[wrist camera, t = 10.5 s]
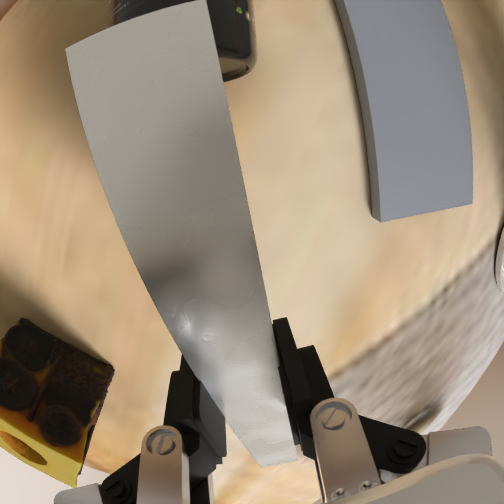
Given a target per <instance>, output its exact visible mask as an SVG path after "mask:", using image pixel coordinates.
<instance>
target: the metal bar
mask: <svg viewBox="0 0 504 504" xmlns="http://www.w3.org/2000/svg"><path fill="white" fill-rule="evenodd" d="M65 50H66V56H67V61H68V66H69V71H70V76H71V81H72V85H73V89H74V94H75V98H76V102H77V106H78V110H79V113H80V117H81V121H82V124H83V128H84V131H85V135H86V138H87V141H88V145H89V148H90V151H91V154H92V157H93V160H94V163H95V166H96V169H97V172H98V175H99V178H100V181H101V183H102V186H103V189H104V192H105V194H106V197H107V199H108V202H109V205H110V207H111V210H112V212H113V215H114V217H115V220H116V222H117V225H118V227H119V229H120V232H121V234H122V236H123V239H124V241H125V243H126V246H127V248H128V250H129V252H130V255H131V257H132V259H133V261H134V263H135V265H136V268H137V270H138V272H139V274H140V276H141V278H142V280H143V282H144V284H145V286H146V288H147V290H148V292H149V294H150V296H151V298H152V300H153V302H154V304H155V306H156V308H157V310H158V312H159V313H160V315H161V317H162V319H163V321H164V323H165V325H166V326H167V328H168V330H169V332H170V334H171V335H172V337H173V339H174V341H175V342H176V344H177V346H178V348H179V349H180V351H181V353H182V354H183V356H184V358H185V359H186V361H187V363H188V364H189V366H190V368H191V369H192V371H193V372H194V374H195V376H196V377H197V379H198V380H199V381H201V382H202V383H203V385H204V386H205V388H206V389H207V391H208V393H209V394H210V396H211V397H212V399H213V400H214V402H215V403H216V405H217V406H218V408H219V409H220V411H221V412H222V414H223V415H224V417H225V421H226V422H227V423H228V425H229V426H230V428H231V429H232V430H233V432H234V433H235V434H236V436H237V437H238V438H239V440H240V441H241V442H242V444H243V445H244V446H245V448H246V449H247V450H248V452H249V453H250V454H251V455H252V457H253V458H254V459H255V460H256V462H257V463H258V464H259V465H260V467H267V466H273V465H279V464H284V463H289V462H294V461H298V460H297V454H296V449H295V445H294V441H293V436H292V432H291V427H290V423H289V419H288V414H287V410H286V405H285V400H284V395H283V390H282V386H281V381H280V376H279V371H278V367H280V364H279V359H278V354H277V349H276V343H275V338H274V333H273V328H272V323H271V318H270V312H269V307H268V302H267V297H266V292H265V287H264V282H263V277H262V271H261V266H260V261H259V256H258V251H257V246H256V241H255V236H254V231H253V226H252V221H251V216H250V211H249V206H248V201H247V196H246V191H245V186H244V181H243V176H242V171H241V166H240V161H239V156H238V151H237V146H236V142H235V137H234V132H233V127H232V122H231V117H230V112H229V107H228V103H227V98H226V93H225V88H224V83H223V78H222V74H221V69H220V64H219V59H218V54H217V50H216V45H215V40H214V35H213V31H212V26H211V21H210V16H209V12H208V7H207V2H206V0H196V1H192V2H187V3H183V4H179V5H175V6H171V7H168V8H164V9H161V10H157V11H154V12H151V13H148V14H145V15H142V16H139V17H136V18H133V19H130V20H127V21H125V22H122V23H120V24H117V25H115V26H112V27H110V28H107V29H105V30H103V31H100V32H98V33H96V34H94V35H92V36H89V37H87V38H85V39H83V40H81V41H79V42H77V43H75V44H73V45H71V46H69V47H68V48H66V49H65Z"/></svg>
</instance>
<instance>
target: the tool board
mask: <svg viewBox="0 0 504 504" xmlns="http://www.w3.org/2000/svg"><path fill="white" fill-rule="evenodd" d="M335 3H336V6H337V9H338V12H339V16H340V19H341V23H342V26H343V30H344V33H345V37H346V41H347V45H348V49H349V53H350V57H351V61H352V65H353V70H354V75H355V79H356V84H357V89H358V95H359V100H360V106H361V112H362V118H363V125H364V132H365V139H366V147H367V156H368V165H369V176H370V188H371V203H372V217H373V218H375V219H376V220H378V221H379V222H385V221H390V220H395V219H400V218H405V217H409V216H414V215H419V214H424V213H429V212H434V211H439V210H444V209H449V208H454V207H459V206H464V205H469V204H472V200H473V157H472V139H471V127H470V118H469V110H468V102H467V96H466V90H465V84H464V79H463V74H462V69H461V65H460V60H459V56H458V52H457V49H456V45H455V41H454V38H453V34H452V31H451V28H450V25H449V22H448V19H447V16H446V13H445V10H444V7H443V5H442V2H441V0H335Z"/></svg>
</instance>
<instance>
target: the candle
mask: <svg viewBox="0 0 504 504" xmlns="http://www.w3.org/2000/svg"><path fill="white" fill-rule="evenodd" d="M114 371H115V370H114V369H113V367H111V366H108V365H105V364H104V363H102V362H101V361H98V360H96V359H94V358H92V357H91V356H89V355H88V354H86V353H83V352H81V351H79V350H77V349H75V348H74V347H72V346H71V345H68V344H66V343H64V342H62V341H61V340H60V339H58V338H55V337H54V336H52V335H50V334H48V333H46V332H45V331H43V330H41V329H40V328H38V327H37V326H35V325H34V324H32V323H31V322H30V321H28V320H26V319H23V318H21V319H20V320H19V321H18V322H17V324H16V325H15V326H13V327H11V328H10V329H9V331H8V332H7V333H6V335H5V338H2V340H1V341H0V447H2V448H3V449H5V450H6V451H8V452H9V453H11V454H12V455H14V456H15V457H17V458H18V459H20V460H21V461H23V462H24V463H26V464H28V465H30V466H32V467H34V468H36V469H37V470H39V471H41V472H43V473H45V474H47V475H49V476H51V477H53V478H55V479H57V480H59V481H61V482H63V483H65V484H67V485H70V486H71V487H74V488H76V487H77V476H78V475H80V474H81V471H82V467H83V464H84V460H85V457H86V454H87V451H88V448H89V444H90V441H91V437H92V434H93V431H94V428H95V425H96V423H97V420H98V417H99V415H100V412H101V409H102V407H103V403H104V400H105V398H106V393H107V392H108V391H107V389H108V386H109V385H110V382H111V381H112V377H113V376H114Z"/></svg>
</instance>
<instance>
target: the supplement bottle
mask: <svg viewBox="0 0 504 504" xmlns="http://www.w3.org/2000/svg"><path fill="white" fill-rule="evenodd" d="M192 1H196V0H109V7H108V22H107V28H110V27H112V26H115V25H117V24H120V23H122V22H125V21H127V20H130V19H133V18H136V17H139V16H142V15H145V14H148V13H151V12H154V11H157V10H161V9H164V8H168V7H171V6H175V5H179V4H183V3H187V2H192ZM206 2H207V7H208V12H209V16H210V21H211V26H212V31H213V35H214V40H215V45H216V50H217V54H218V59H219V64H220V69H221V74H222V78H223V82H226V81H230V80H234V79H237V78H240V77H242V76H244V75H246V74H248V73H249V72H250V71H251V70H252V69H253V68H254V66H255V64H256V62H257V45H256V31H255V20H254V10H253V0H206Z"/></svg>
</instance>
